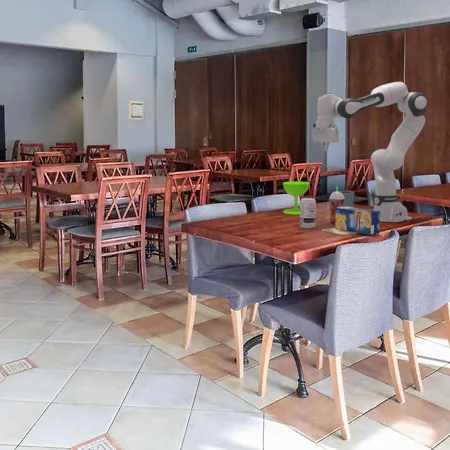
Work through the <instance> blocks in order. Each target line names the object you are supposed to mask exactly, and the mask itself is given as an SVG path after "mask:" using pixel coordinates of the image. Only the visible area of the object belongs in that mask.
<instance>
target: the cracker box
mask: <svg viewBox="0 0 450 450" xmlns="http://www.w3.org/2000/svg"><path fill="white" fill-rule="evenodd" d="M380 223H381V221H380V211H374V209H366V208H358V207H353V208H352V207H338V208H336V223H334V224H335V225H334V226H335V227H334V228H335V229H339V230H345V231H350V232H356V233H360V234H362V235H368V236H373V235H377V234H380V229H381V228H380V226H381V224H380Z"/></svg>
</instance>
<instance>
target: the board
mask: <svg viewBox="0 0 450 450" xmlns="http://www.w3.org/2000/svg"><path fill="white" fill-rule="evenodd" d="M321 232H325V233H328V234H332V235H335V236H339V237H341V236H350V235H358V234H361V233H356V232H350V231H345V230H339V229H335V227H332V228H323V229H321Z"/></svg>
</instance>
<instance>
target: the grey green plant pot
mask: <svg viewBox="0 0 450 450" xmlns="http://www.w3.org/2000/svg"><path fill="white" fill-rule="evenodd" d="M338 191H339V190H338ZM339 192H341V193H342V194H343V196H344V198H345V200H344V207H352V208H354V200H355V191H351V190H340V191H339Z"/></svg>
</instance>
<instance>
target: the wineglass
mask: <svg viewBox="0 0 450 450" xmlns="http://www.w3.org/2000/svg"><path fill="white" fill-rule="evenodd" d="M282 185H283V189H284V190H285V192H286V193H287V194H289V195H290V196H293V197H294V206H293V208H286V209H284V210H283V211H282V213H283V214H286V215H300V207H299V206H298V202H299V201H298V198H299V197H300V196H302V195H305V193H307V191H308V190H309V188H310V182H307V181H285V182H283V183H282Z"/></svg>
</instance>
